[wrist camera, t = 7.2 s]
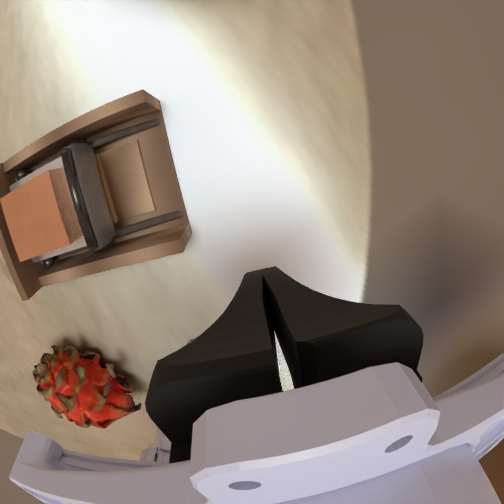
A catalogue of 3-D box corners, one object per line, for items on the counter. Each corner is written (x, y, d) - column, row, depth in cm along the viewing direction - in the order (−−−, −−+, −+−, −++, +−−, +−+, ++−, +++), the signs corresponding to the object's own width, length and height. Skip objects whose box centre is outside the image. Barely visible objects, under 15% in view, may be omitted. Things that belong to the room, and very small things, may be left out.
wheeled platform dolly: (99, 134, 15) (63, 132, 11) (127, 237, 18) (101, 264, 13) (25, 172, 15) (-14, 182, 11) (52, 260, 18) (20, 286, 13)
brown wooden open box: (159, 100, 16) (131, 82, 11) (191, 232, 20) (177, 265, 14) (27, 161, 16) (-20, 171, 11) (59, 267, 20) (22, 301, 14)
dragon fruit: (50, 326, 24) (145, 358, 28) (41, 392, 21) (133, 421, 26) (25, 333, 16) (150, 377, 20) (18, 416, 14) (137, 455, 18)
